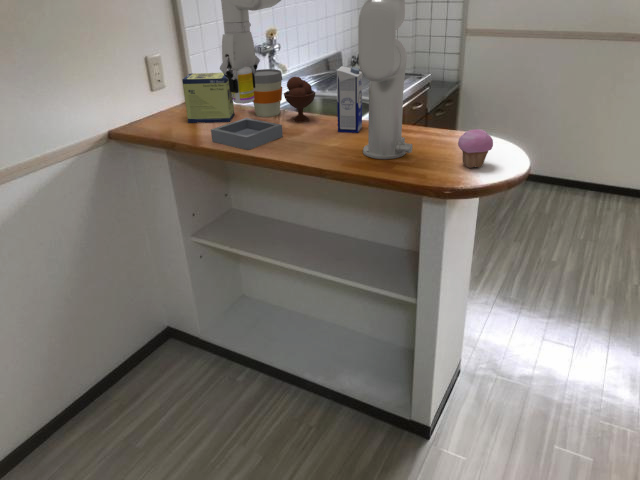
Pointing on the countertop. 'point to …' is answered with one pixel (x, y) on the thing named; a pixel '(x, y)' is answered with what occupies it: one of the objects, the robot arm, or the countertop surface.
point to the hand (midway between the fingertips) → (242, 89)
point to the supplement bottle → (244, 86)
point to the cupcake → (475, 147)
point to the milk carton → (349, 99)
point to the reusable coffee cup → (267, 92)
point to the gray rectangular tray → (247, 133)
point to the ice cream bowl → (299, 96)
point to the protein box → (208, 98)
